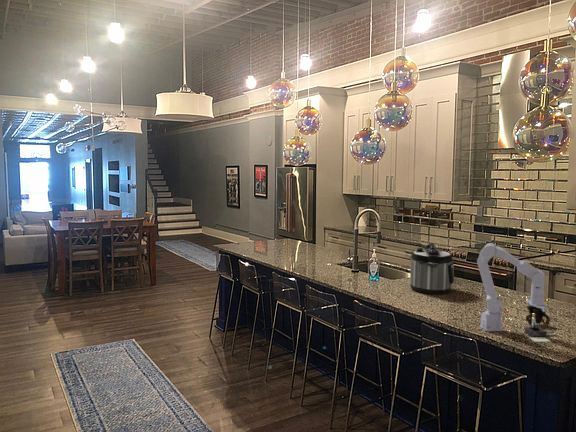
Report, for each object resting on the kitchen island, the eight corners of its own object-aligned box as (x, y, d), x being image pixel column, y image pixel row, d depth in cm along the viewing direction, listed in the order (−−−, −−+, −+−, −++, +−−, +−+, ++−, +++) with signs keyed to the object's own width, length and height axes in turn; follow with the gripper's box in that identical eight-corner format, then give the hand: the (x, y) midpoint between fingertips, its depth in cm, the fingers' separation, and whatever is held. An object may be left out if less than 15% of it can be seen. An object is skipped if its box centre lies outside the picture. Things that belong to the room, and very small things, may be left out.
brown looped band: (537, 322, 259) (546, 311, 255) (546, 335, 251) (555, 324, 247) (518, 318, 256) (527, 306, 252) (527, 330, 248) (536, 319, 244)
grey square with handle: (532, 337, 234) (532, 331, 233) (524, 332, 240) (524, 327, 240) (557, 337, 235) (558, 331, 234) (549, 332, 242) (549, 326, 241)
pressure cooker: (438, 298, 305) (440, 249, 302) (400, 290, 325) (401, 243, 322) (461, 289, 326) (462, 243, 322) (423, 282, 346) (425, 239, 343)
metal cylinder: (534, 328, 235) (535, 314, 234) (530, 326, 238) (530, 312, 237) (540, 327, 236) (540, 313, 235) (536, 325, 239) (536, 311, 238)
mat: (534, 342, 227) (534, 341, 227) (528, 338, 232) (528, 337, 232) (550, 341, 228) (551, 341, 228) (544, 338, 233) (544, 337, 233)
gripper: (554, 298, 228) (552, 326, 230) (536, 291, 243) (535, 317, 244) (540, 299, 228) (538, 326, 229) (523, 291, 242) (521, 317, 244)
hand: (535, 321), depth 237 cm, fingers closed on metal cylinder, 3 cm apart
